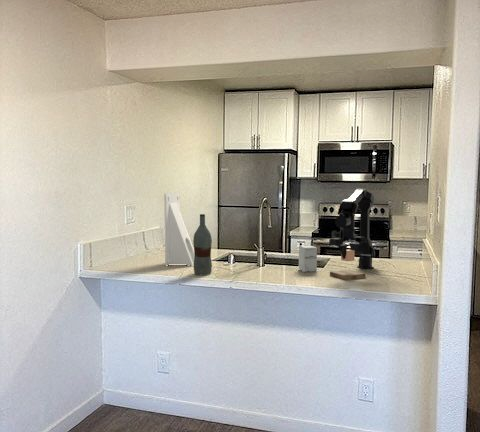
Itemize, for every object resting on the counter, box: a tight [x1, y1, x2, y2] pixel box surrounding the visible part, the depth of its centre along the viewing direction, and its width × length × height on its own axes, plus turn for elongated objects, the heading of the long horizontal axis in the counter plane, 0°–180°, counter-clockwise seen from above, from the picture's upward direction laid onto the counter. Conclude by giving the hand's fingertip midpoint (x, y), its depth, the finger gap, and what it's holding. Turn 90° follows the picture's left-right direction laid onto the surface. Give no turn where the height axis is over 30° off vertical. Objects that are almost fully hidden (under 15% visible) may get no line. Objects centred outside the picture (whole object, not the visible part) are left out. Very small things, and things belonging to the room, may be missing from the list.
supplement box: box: [298, 245, 318, 273], centre depth 242 cm, size 7×7×13 cm
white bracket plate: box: [163, 192, 195, 265], centre depth 259 cm, size 20×14×40 cm
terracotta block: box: [340, 248, 356, 262], centre depth 225 cm, size 4×4×5 cm
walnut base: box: [329, 269, 366, 281], centre depth 226 cm, size 12×12×2 cm
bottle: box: [192, 213, 213, 276], centre depth 233 cm, size 9×9×30 cm
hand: (347, 258), depth 225 cm, fingers closed on terracotta block, 4 cm apart
